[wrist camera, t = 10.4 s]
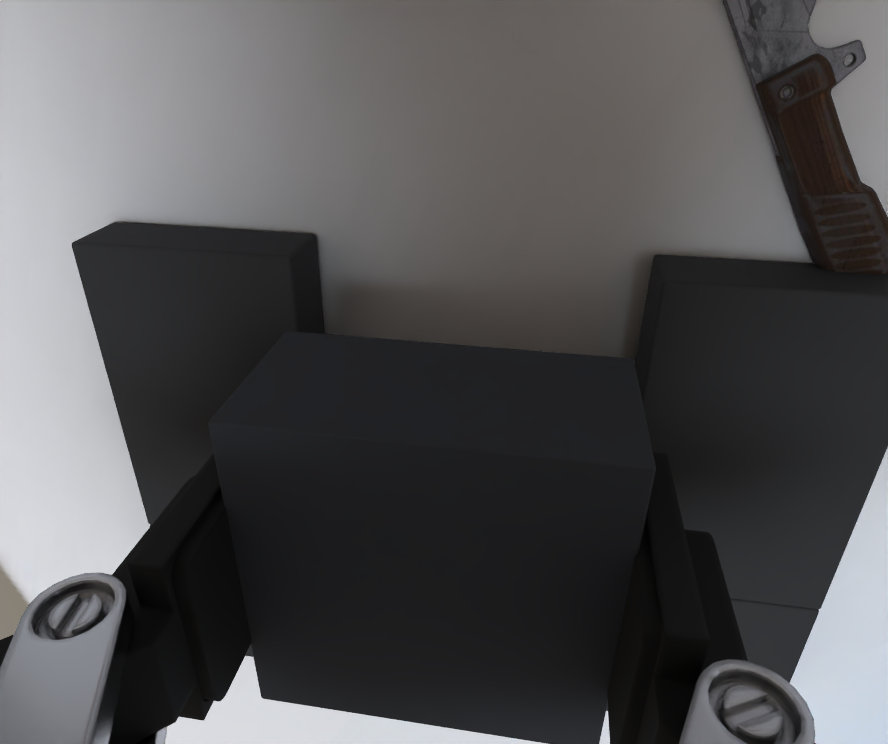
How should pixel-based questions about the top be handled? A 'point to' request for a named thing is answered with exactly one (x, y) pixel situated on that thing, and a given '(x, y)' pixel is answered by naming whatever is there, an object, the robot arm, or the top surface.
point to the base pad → (658, 370)
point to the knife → (811, 132)
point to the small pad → (437, 528)
